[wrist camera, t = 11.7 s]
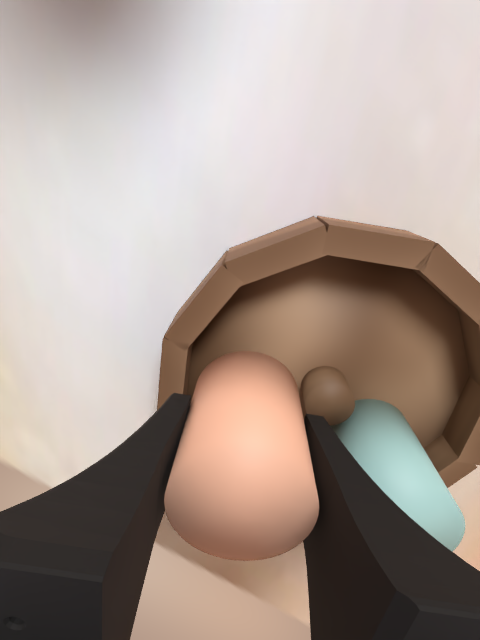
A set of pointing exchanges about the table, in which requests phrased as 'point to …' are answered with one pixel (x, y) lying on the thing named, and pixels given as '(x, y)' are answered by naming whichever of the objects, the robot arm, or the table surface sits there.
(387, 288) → the tray
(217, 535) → the peach rounded cylinder
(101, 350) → the table surface
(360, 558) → the robot arm
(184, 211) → the table surface
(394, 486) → the pale teal rounded piece
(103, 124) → the table surface
